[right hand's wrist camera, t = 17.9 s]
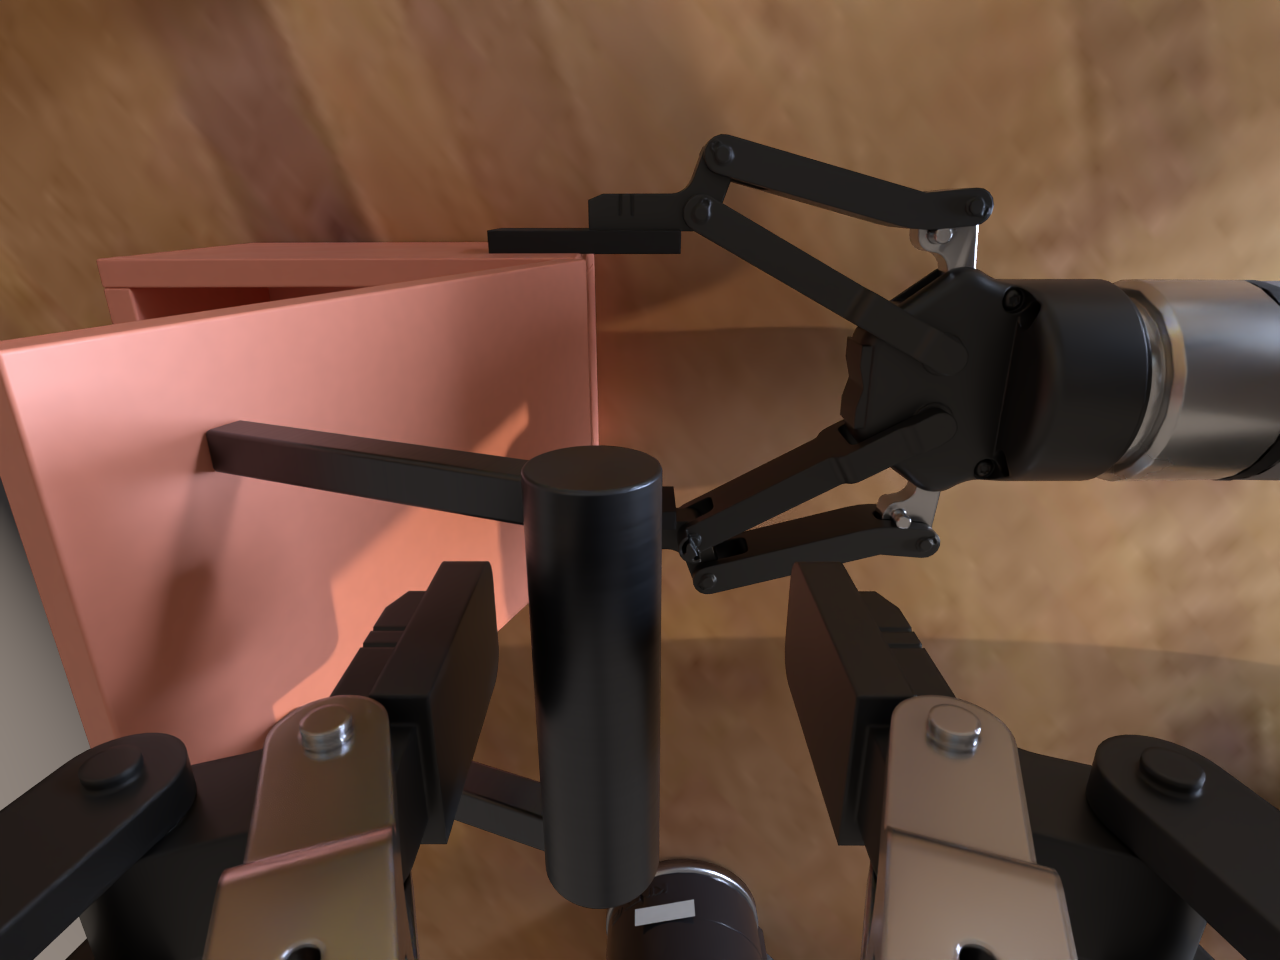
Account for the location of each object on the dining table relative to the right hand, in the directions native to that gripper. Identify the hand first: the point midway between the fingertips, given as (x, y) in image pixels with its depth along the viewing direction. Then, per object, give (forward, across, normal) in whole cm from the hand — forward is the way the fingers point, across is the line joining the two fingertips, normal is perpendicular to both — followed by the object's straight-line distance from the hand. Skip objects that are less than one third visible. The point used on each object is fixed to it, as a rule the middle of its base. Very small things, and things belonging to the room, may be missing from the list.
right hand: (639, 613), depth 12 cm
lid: (+6, +5, 0) cm, 8 cm away
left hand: (+17, +5, 0) cm, 18 cm away
